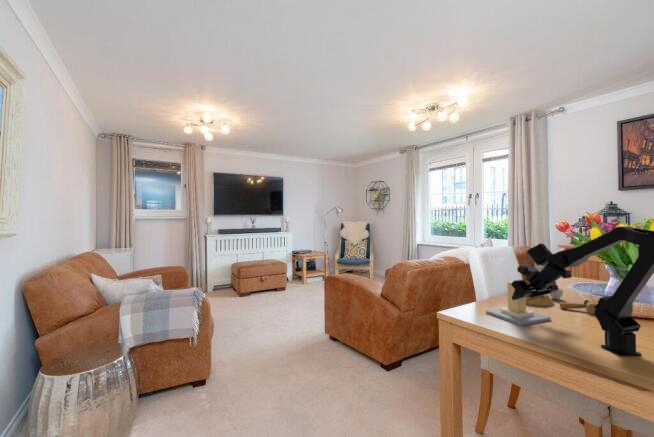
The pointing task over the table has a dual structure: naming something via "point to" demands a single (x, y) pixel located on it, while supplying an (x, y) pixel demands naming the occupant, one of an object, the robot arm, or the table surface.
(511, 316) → the baseplate
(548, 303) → the pastry
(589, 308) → the kendama
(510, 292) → the pillar
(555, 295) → the frog figurine
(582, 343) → the table surface
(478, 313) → the table surface
